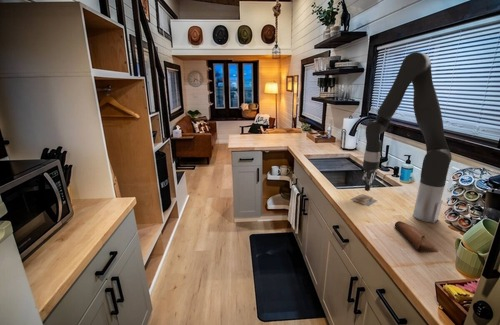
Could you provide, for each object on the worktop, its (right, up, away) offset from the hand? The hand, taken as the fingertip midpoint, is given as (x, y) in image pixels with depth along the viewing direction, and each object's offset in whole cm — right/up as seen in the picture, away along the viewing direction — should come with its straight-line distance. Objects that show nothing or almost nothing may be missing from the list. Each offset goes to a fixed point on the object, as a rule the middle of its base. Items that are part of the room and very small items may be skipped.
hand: (367, 190), depth 137 cm
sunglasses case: (+4, -17, -33) cm, 37 cm away
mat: (-2, -6, 0) cm, 6 cm away
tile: (+1, -4, +2) cm, 4 cm away
